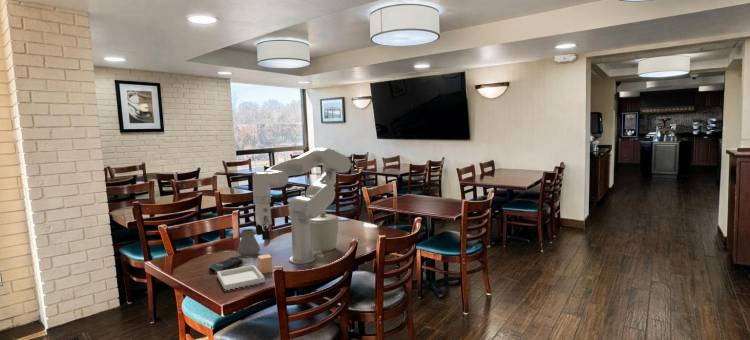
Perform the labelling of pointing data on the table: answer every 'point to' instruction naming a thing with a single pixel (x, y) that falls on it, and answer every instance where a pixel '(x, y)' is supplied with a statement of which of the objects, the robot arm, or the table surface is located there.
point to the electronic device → (226, 264)
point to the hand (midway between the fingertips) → (263, 237)
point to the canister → (324, 232)
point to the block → (265, 263)
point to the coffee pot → (248, 244)
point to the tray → (240, 277)
